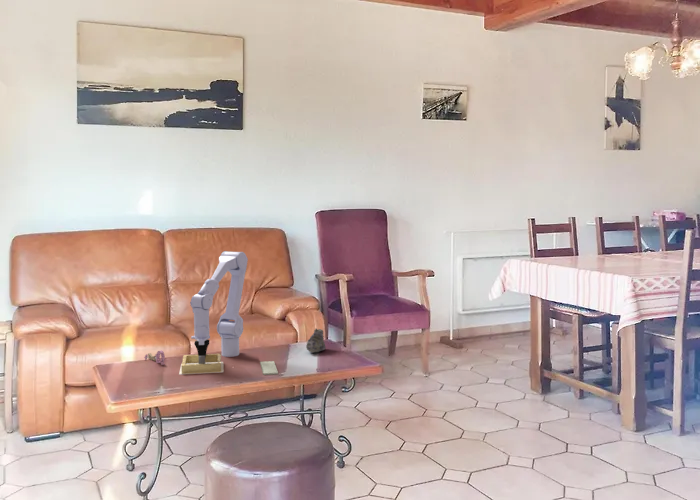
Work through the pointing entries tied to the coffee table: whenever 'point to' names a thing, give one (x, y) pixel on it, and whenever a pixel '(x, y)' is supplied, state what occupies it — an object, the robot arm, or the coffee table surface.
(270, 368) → the mat
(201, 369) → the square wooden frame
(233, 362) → the coffee table surface
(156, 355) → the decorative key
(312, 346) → the mineral rock
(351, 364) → the coffee table surface
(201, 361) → the post stand
